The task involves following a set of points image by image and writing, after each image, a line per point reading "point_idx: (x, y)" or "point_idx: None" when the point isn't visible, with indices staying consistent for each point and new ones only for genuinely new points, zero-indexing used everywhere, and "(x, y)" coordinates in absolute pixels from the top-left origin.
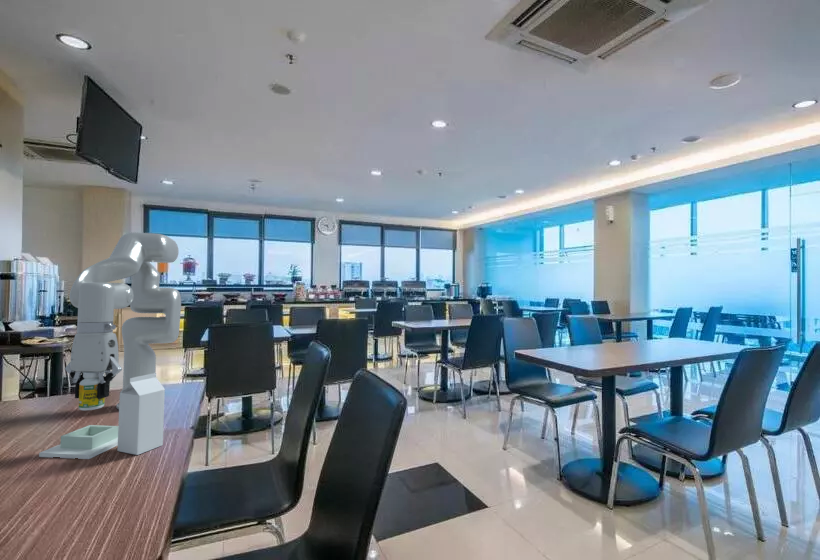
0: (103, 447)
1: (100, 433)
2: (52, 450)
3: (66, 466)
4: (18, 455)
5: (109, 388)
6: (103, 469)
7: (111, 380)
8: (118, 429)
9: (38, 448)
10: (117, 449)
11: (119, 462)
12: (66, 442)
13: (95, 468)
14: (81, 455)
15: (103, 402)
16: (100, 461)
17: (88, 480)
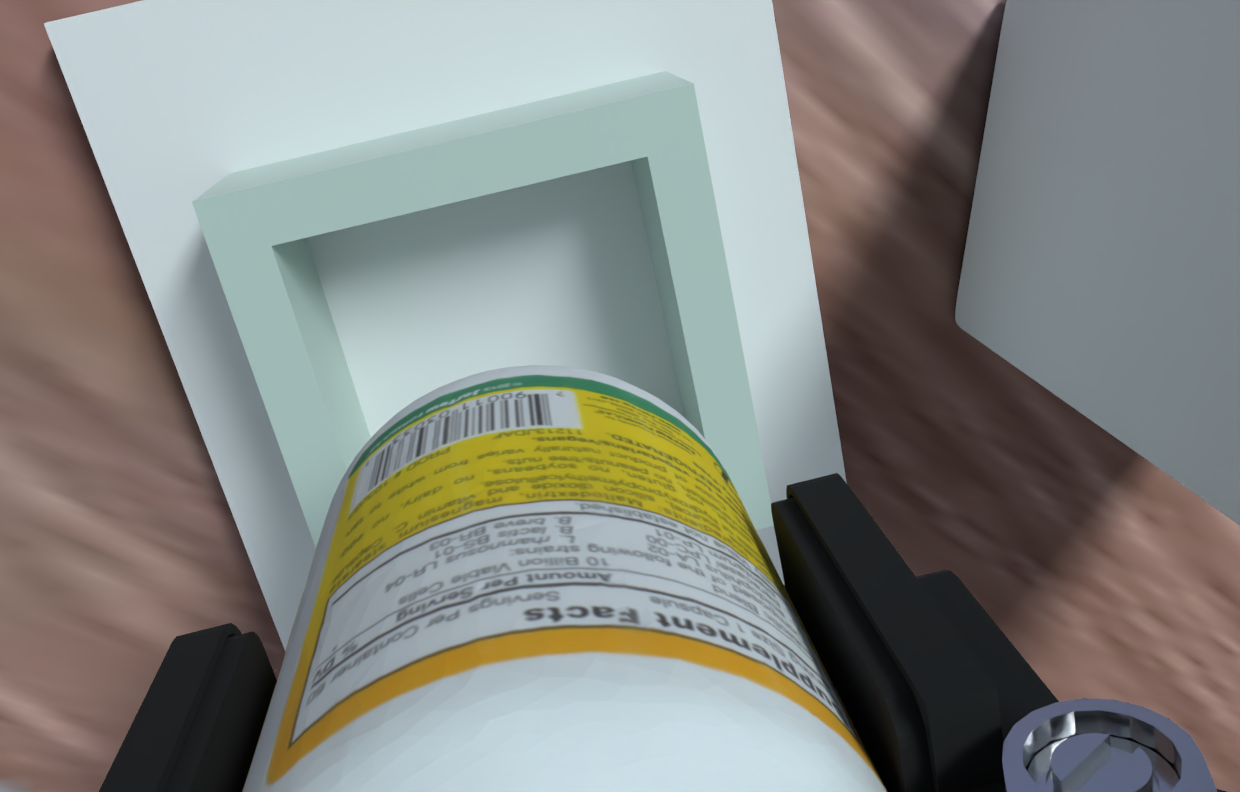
0: (810, 383)
1: (737, 402)
2: None
3: None
4: (61, 728)
5: (992, 622)
6: (1169, 628)
7: (1157, 745)
8: (1083, 412)
9: (3, 557)
10: (965, 331)
11: (1189, 491)
12: None
13: (1086, 640)
14: None
15: (734, 488)
16: (998, 537)
17: (1217, 778)
